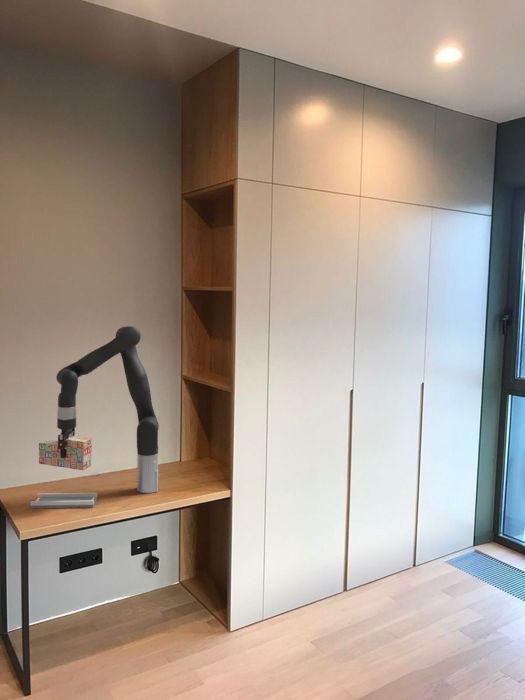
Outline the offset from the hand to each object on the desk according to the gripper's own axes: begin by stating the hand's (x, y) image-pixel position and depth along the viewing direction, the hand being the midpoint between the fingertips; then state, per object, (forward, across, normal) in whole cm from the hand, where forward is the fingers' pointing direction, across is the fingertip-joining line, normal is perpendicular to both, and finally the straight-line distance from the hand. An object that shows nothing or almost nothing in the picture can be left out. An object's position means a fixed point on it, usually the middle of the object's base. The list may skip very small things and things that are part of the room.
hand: (66, 455), depth 238 cm
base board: (+20, +2, 0) cm, 20 cm away
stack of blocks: (+5, 0, -1) cm, 5 cm away
